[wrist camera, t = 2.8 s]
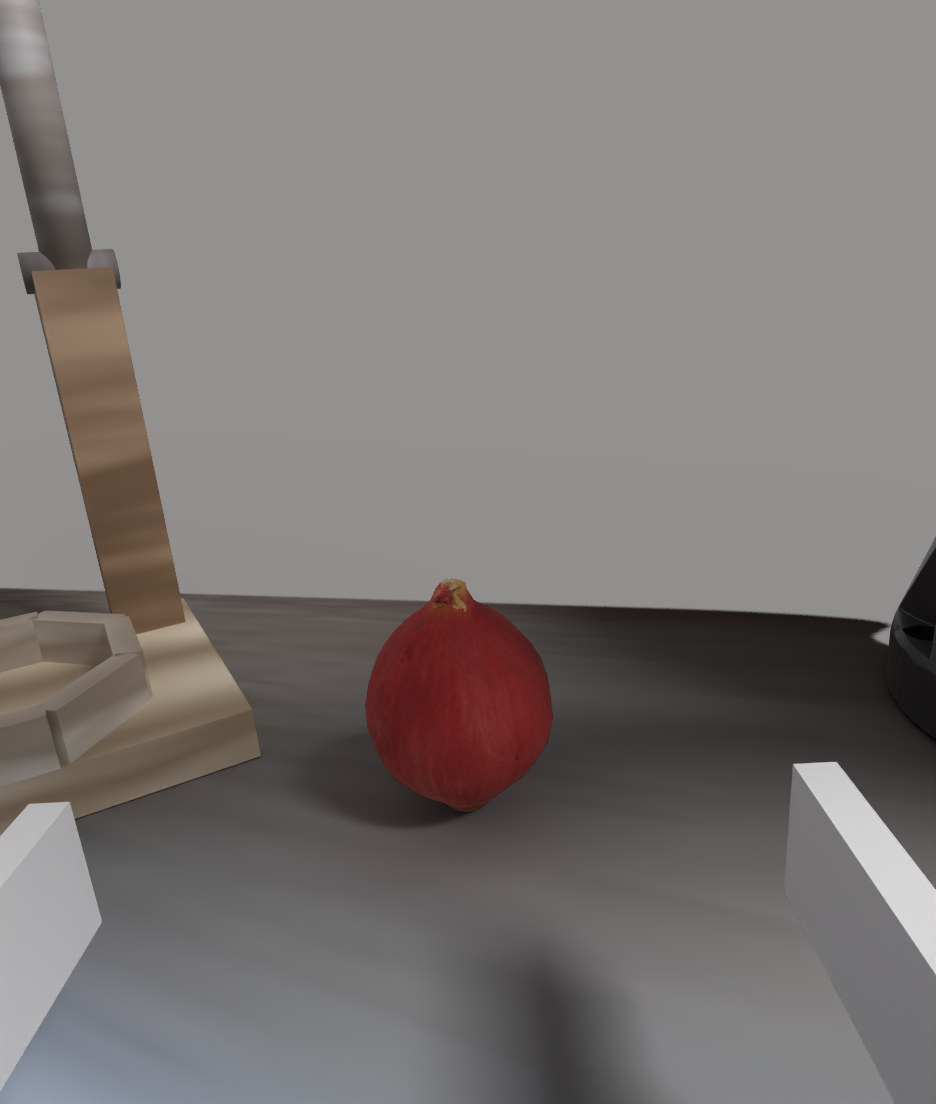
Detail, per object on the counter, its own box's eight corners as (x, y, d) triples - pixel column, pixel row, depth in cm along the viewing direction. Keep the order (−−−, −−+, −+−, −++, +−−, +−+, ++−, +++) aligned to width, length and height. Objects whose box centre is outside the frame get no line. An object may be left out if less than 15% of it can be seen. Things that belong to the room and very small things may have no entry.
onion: (362, 779, 27) (333, 565, 25) (513, 739, 29) (500, 535, 26) (407, 889, 22) (375, 632, 20) (588, 832, 24) (580, 589, 21)
